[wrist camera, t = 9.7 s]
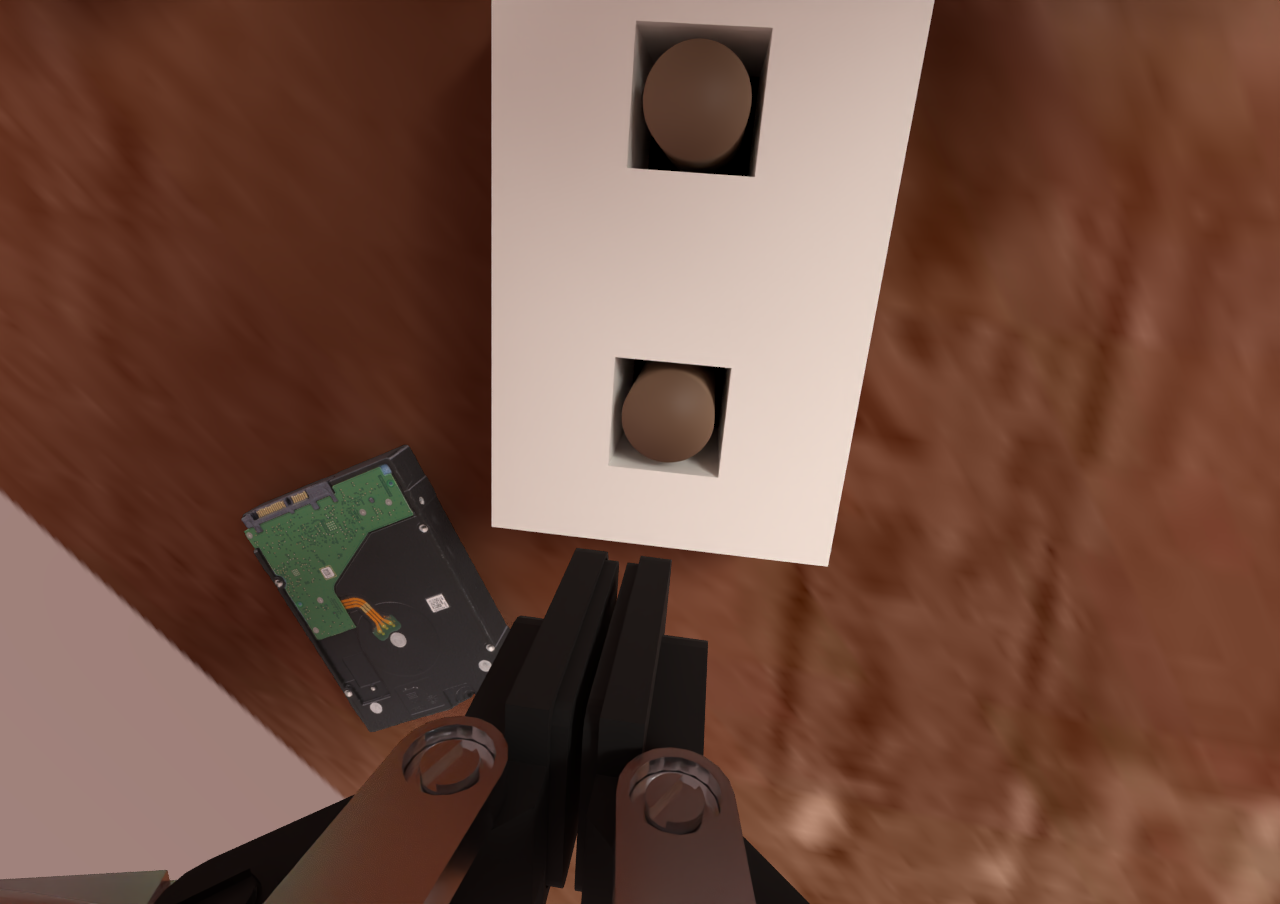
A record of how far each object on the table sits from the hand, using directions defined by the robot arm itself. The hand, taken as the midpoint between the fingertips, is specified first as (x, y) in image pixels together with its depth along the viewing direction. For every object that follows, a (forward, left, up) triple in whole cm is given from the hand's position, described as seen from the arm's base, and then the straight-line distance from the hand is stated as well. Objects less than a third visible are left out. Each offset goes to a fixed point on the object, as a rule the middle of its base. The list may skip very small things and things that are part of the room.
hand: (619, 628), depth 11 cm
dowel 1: (0, -11, -22) cm, 24 cm away
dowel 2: (0, 0, -22) cm, 22 cm away
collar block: (0, -5, -22) cm, 22 cm away
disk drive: (+15, +14, -22) cm, 30 cm away
